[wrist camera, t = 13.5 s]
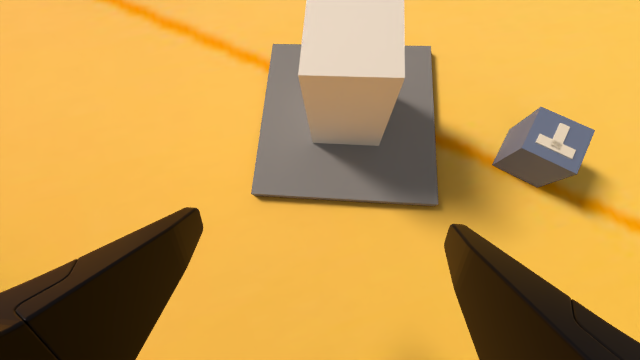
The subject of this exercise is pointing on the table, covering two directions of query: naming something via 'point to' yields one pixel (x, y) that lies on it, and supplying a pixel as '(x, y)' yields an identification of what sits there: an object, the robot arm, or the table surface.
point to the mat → (343, 159)
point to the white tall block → (351, 68)
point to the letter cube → (544, 148)
